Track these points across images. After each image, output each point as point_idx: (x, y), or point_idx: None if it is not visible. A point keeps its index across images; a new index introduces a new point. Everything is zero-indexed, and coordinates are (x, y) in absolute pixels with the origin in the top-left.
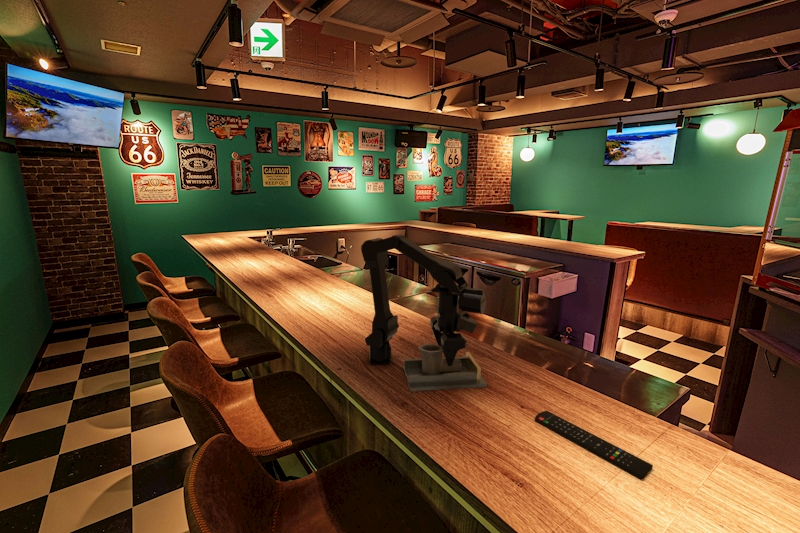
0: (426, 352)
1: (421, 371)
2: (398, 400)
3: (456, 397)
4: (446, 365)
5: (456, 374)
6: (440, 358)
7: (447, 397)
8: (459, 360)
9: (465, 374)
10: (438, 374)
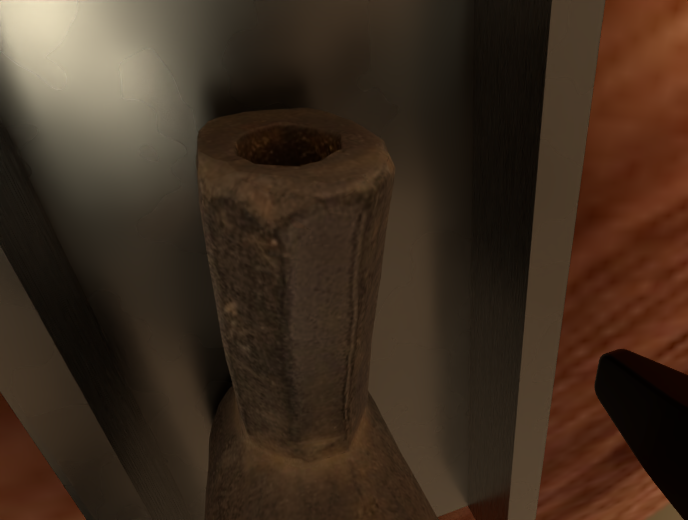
0: None
1: None
2: (590, 483)
3: (665, 157)
4: (368, 359)
5: (574, 215)
6: (418, 517)
7: (642, 230)
8: (354, 216)
9: (590, 84)
10: (530, 395)
